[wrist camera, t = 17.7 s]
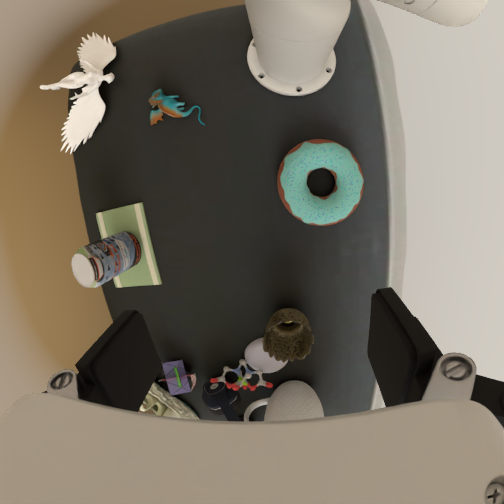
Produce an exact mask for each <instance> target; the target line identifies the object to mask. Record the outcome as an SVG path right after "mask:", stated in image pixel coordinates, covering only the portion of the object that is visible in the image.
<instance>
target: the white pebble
mask: <svg viewBox="0 0 504 504" xmlns="http://www.w3.org/2000/svg"><path fill="white" fill-rule="evenodd" d="M262 339H263V338H259V339H257V340H254V341H253V342H251V343H250V344H249V345H248V346H247V348H246V350H245V360H246V361H247V363H248V365H249V366H251V367H252V368H253V369H255V370H256V371H257V370H259V369H261V370H262V371H263V373H273V372H276V371H278V370H280V369H281V368H282V367H284V366H285V365H286V363H287V361H288V360H286V361H285V362H284V363H283V362H282V361H281V360H280V361H276V360H275V358H274V356H273V357H272V358H270V357H269V353H268V352H264V350H263V343H262Z"/></svg>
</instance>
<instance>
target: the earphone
mask: <svg viewBox="0 0 504 504" xmlns="http://www.w3.org/2000/svg"><path fill="white" fill-rule="evenodd" d="M225 381H226V382H227V383H228V384H229V383H230V384H233V383H232V382H230V381H228V380H225ZM232 387H233V386H232ZM203 390H204V391H203V393H202V399H203V401H204V403H205V405H206V406H207V408H208V409H209V410H210V412H212V413H213V414H215V415H225V416H226V418H227V420H228V421H237V422H244V417H240V418H239V417H238V416H237V414H236V412H235V411H234V409H236V408H237V407H238V406H239V404H240V401H241V399H240V395H239V393H238V391H237V390H236V391H235V390H233V389H232V388H230V389H229V388H227V385H226V384H225V383H224V382H221V381H220V382H215V383H211V381H208V382H207V383H205V385H204V386H203ZM249 422H255V421H254V420H253V419H252V418H250V417H249Z"/></svg>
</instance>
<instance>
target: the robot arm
mask: <svg viewBox="0 0 504 504" xmlns="http://www.w3.org/2000/svg"><path fill="white" fill-rule="evenodd" d="M244 1H245V5H246V9H247V13H248V17H249V21H250V25H251V30H252V34H253V40H252V41H251V43H250V45H249V48H248V53H247V60H248V65H249V68H250V70H251V73H252V74H253V76H254V77H255V79H256V80H257V81H258V82H259V83H260V84H261V85H263V86H264V87H266V88H267V89H269V90H271V91H273V92H275V93H279V94H282V95H288V96H302V95H307V94H311V93H313V92H316V91H318V90H319V89H321V88H322V87H324V86H325V85H326V84H327V83H328V82H329V80H330V79H331V77H332V75H333V73H334V71H335V66H336V57H335V53H334V50H333V48H334V46H335V43H336V41H337V39H338V37H339V35H340V33H341V31H342V29H343V27H344V25H345V23H346V21H347V19H348V16H349V13H350V5H351V3H350V0H244ZM378 1H381V2H384V3H387V4H390V5H393V6H395V7H398V8H401V9H403V10H406V11H408V12H411V13H413V14H416V15H418V16H420V17H423V18H425V19H428V20H430V21H433V22H436V23H438V24H441V25H446V26H452V27H457V26H464V25H466V24H469V23H470V22H472V21H473V20H475V19H476V18H477V17H478V16H479V15H480V13H481V12H482V11H483V9H484V8H485V6H486V4H487V2H488V0H378ZM254 46H255V47H254ZM326 71H329V73H328V72H326ZM261 76H263V78H262V79H261V78H260V77H261ZM297 89H299V90H300V92H298V91H297ZM368 358H369V360H370V363H371V366H372V368H373V371H374V374H375V377H376V379H377V382H378V385H379V388H380V391H381V394H382V397H383V400H384V402H385V405H386V407H385V408H380V409H375V410H369V411H364V412H358V413H352V414H345V415H337V416H329V417H321V418H312V419H301V420H286V421H259V422H237V421H210V420H196V419H185V418H175V417H167V416H159V415H152V414H145V413H140V412H138V411H139V409H140V407H141V405H142V403H143V402H144V400H145V398H146V396H147V394H148V392H149V390H150V388H151V386H152V385H153V383H154V381H155V379H156V377H157V375H158V373H159V371H160V369H161V361H160V359H159V356H158V354H157V351H156V349H155V346H154V344H153V341H152V339H151V336H150V334H149V331H148V328H147V326H146V323H145V320H144V318H143V315H142V314H140V313H139V312H138V311H137V310H125V311H124V312H123V313H122V314H121V315H120V316H119V317H118V318H117V319H116V320H115V321H114V322H113V324H111V325H110V327H109V328H108V329H107V330H106V331H105V332H104V333H103V334H102V335H101V336H100V337H99V339H98V340H97V341H96V342H95V343H94V344H93V345H92V346H91V347H90V349H89V350H88V351H87V352H86V353H85V354H84V355H83V356H82V358H81V359H80V360H79V361H78V362H77V363H76V364H75V366H76V368H77V369H78V371H79V373H78V374H76V373H75V372H74V371H73V370H71V369H65V370H61V371H59V372H57V373H55V374H54V375H53V376H52V377H51V378H50V380H49V381H48V385H47V391H45V392H42V393H33V394H28V395H25V396H22V397H21V398H19V399H18V400H17V401H16V402H15V403H14V404H13V405H12V406H11V407H10V408H9V409H8V410H7V411H6V412H5V413H4V415H3V416H2V417H1V418H0V504H504V382H502V381H498V380H494V379H490V378H487V377H483V376H480V375H476V365H475V363H474V361H473V360H472V359H471V358H469V357H468V356H466V355H464V354H461V353H448V354H445V355H443V354H442V353H441V351H440V350H439V348H438V347H437V345H436V344H435V342H434V341H433V340H432V338H431V337H430V336H429V334H428V333H427V331H426V330H425V328H424V327H423V326H422V325H421V323H420V322H419V320H418V319H417V318H416V317H414V316H413V315H412V314H411V312H410V311H409V310H408V309H407V307H406V306H405V304H404V303H403V302H402V300H401V299H400V298H399V297H398V295H397V294H396V293H395V291H394V290H393V289H392V288H391V287H389V288H383V289H377V291H376V293H375V294H372V299H371V316H370V329H369V340H368Z"/></svg>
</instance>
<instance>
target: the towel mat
mask: <svg viewBox="0 0 504 504" xmlns="http://www.w3.org/2000/svg"><path fill="white" fill-rule="evenodd" d="M96 217H97V221H98V226H99V230H100V234H101V238H102V239H104V238H107V237H109V236H112V235H115V234H117V233H120V232H123V231H127V232H130V233H132V234H133V235H134V236H135V237H136V238H137V240H138V241H139V243H140V246H141V252H142V253H141V259H140V261H139V263H138V264H137V265H135V266H133V267H132V268H130V269H128V270H126V271H125V272H123V273H121V274H119V275H118V276H116V277H114V278H113V279H114V283H115V286H116V287H129V286H143V285H159V284H162V280H161V276H160V273H159V269H158V265H157V261H156V257H155V254H154V250H153V245H152V241H151V237H150V233H149V228H148V224H147V219H146V215H145V210H144V205H143V202H141V203H137V204H133V205H128V206H124V207H120V208H116V209H112V210H108V211H104V212H100V213H96Z"/></svg>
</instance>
